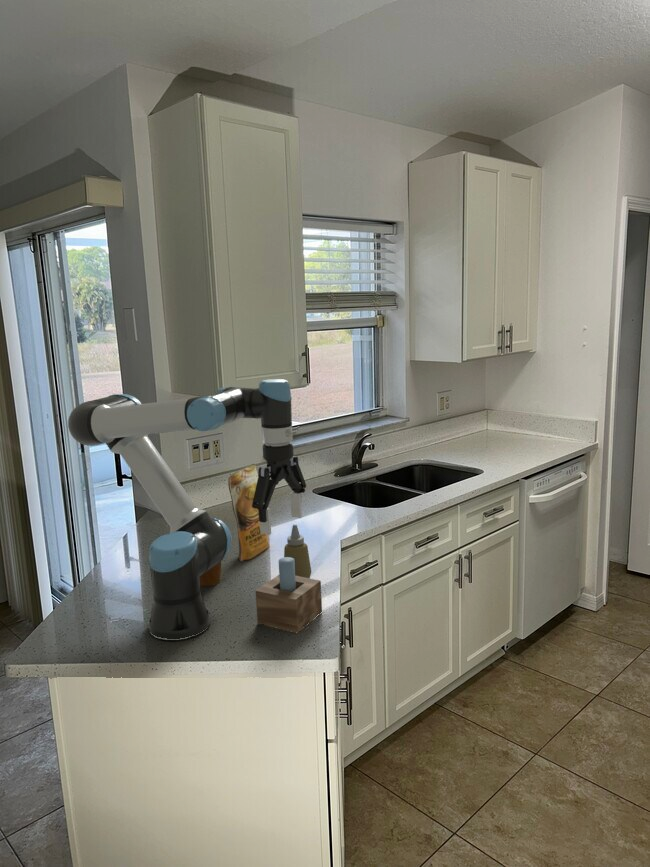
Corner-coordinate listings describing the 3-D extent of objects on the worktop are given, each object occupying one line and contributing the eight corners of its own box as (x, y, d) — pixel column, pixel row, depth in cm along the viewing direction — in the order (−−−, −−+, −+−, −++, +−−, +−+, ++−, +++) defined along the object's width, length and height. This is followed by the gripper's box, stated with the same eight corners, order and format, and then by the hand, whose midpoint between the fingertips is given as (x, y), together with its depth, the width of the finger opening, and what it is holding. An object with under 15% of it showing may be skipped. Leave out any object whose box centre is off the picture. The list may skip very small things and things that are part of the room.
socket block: (297, 633, 165) (295, 599, 163) (257, 623, 171) (255, 590, 169) (322, 612, 175) (320, 580, 173) (283, 604, 181) (281, 572, 179)
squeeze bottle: (296, 576, 198) (293, 518, 195) (317, 583, 193) (315, 523, 189) (278, 586, 192) (274, 526, 188) (299, 593, 187) (295, 532, 183)
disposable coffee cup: (194, 590, 192) (191, 551, 189) (191, 577, 201) (188, 539, 198) (227, 585, 194) (224, 546, 192) (223, 573, 203) (220, 535, 201)
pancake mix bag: (226, 561, 212) (220, 475, 206) (259, 541, 228) (254, 461, 223) (244, 564, 209) (238, 477, 203) (276, 543, 225) (271, 462, 220)
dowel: (291, 616, 170) (288, 564, 167) (278, 613, 172) (275, 561, 168) (299, 609, 173) (297, 558, 170) (286, 606, 175) (284, 556, 172)
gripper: (259, 455, 153) (264, 543, 157) (317, 434, 173) (320, 512, 178) (233, 452, 156) (239, 538, 161) (293, 431, 177) (296, 508, 182)
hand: (281, 525), depth 169 cm, fingers open, 13 cm apart
